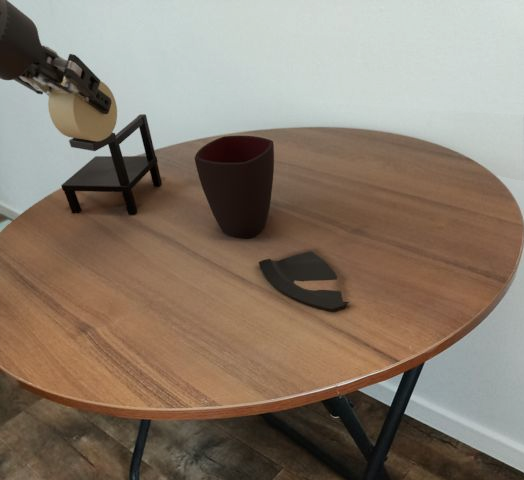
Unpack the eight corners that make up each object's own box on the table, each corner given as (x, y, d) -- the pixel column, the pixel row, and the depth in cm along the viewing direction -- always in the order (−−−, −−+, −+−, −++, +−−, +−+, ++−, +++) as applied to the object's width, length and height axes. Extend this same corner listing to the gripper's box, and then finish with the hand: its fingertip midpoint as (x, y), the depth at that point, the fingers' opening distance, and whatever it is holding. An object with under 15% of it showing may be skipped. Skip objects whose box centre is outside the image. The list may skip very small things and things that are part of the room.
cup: (199, 239, 77) (183, 159, 69) (244, 198, 86) (235, 123, 78) (258, 250, 73) (248, 167, 65) (299, 206, 82) (294, 128, 74)
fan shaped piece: (297, 331, 59) (296, 319, 58) (256, 272, 69) (255, 262, 68) (363, 309, 61) (363, 298, 60) (314, 255, 71) (313, 245, 70)
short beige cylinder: (62, 151, 72) (39, 86, 67) (100, 132, 77) (82, 69, 71) (86, 155, 70) (65, 89, 65) (124, 135, 75) (108, 71, 69)
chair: (71, 213, 88) (44, 142, 80) (103, 182, 97) (82, 115, 89) (135, 215, 85) (114, 141, 77) (163, 183, 94) (146, 114, 86)
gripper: (34, -11, 53) (140, 82, 68) (-49, -9, 59) (66, 76, 75) (13, 61, 53) (124, 138, 69) (-67, 55, 60) (51, 127, 75)
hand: (93, 105), depth 72 cm, fingers closed on short beige cylinder, 4 cm apart
